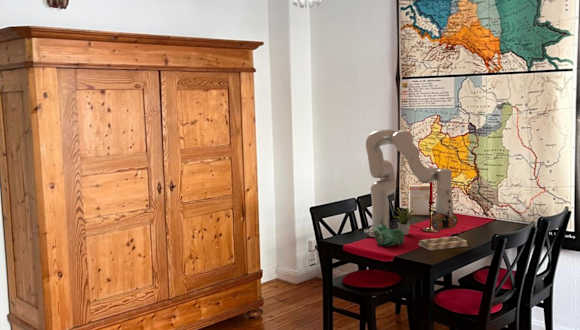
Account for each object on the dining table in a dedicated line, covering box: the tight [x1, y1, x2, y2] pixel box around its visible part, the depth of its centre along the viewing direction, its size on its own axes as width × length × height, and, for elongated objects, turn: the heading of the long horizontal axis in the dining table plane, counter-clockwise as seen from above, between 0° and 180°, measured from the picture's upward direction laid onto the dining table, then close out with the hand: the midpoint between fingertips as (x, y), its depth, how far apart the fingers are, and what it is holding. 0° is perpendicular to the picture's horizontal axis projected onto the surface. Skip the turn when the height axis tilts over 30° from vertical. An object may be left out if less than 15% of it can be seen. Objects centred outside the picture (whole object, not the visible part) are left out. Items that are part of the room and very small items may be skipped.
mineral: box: [373, 224, 405, 247], centre depth 319 cm, size 18×16×10 cm
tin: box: [430, 213, 458, 231], centre depth 315 cm, size 15×3×8 cm, turn 108°
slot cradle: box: [417, 235, 469, 251], centre depth 316 cm, size 23×12×3 cm, turn 109°
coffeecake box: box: [408, 183, 434, 216], centre depth 391 cm, size 15×7×20 cm, turn 84°
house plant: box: [394, 205, 416, 236], centre depth 340 cm, size 14×14×16 cm
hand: (443, 226), depth 315 cm, fingers closed on tin, 2 cm apart
